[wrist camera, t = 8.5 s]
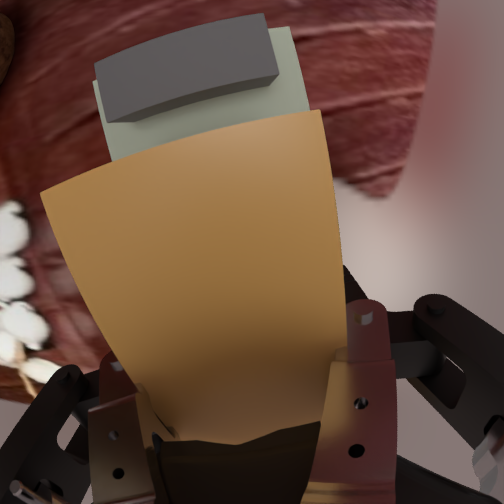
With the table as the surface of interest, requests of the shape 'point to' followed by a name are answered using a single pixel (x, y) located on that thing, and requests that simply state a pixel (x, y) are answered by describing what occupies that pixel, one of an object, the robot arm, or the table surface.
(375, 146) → the table surface
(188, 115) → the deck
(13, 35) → the shell
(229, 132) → the orange rectangular block
